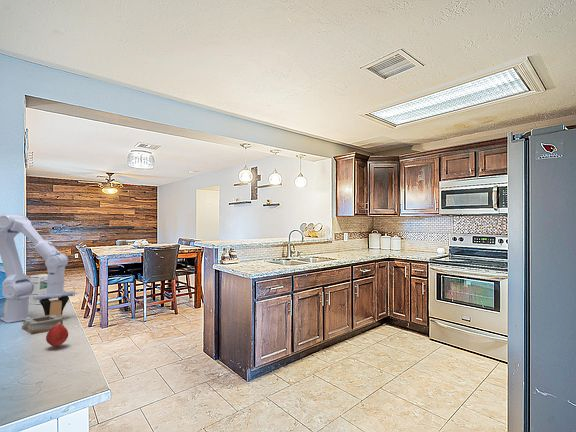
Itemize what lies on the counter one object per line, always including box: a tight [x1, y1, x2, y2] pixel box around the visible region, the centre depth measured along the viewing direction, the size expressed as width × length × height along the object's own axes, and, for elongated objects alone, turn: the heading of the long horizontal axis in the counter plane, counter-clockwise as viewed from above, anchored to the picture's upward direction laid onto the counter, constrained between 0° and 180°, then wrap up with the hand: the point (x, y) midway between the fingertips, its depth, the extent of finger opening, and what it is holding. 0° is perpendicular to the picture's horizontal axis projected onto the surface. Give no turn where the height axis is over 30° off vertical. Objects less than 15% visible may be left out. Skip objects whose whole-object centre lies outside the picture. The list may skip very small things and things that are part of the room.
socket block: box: [21, 315, 65, 335], centre depth 122 cm, size 11×10×4 cm
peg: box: [49, 299, 62, 318], centre depth 133 cm, size 4×4×8 cm
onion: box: [45, 322, 69, 348], centre depth 103 cm, size 6×6×8 cm
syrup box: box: [29, 273, 48, 305], centre depth 162 cm, size 6×6×14 cm
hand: (53, 315), depth 133 cm, fingers closed on peg, 4 cm apart
